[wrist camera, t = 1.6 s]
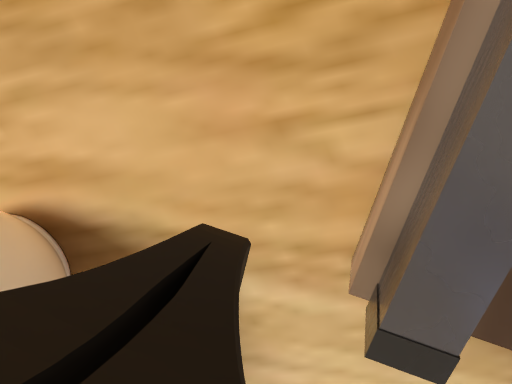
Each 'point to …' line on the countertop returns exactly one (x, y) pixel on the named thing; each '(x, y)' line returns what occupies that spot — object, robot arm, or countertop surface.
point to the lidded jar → (28, 254)
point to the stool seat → (429, 159)
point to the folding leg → (453, 227)
